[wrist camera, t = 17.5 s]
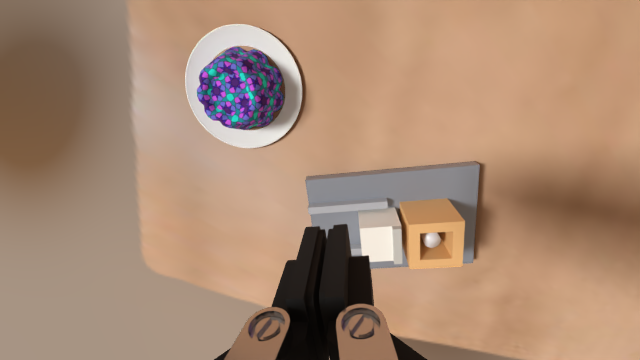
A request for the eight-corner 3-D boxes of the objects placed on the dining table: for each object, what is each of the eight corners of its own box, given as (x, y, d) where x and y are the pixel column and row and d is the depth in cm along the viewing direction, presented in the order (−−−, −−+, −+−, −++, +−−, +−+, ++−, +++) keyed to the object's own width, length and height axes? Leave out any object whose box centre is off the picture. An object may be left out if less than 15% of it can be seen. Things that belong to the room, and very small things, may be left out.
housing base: (474, 161, 31) (498, 178, 27) (468, 256, 36) (488, 287, 31) (306, 176, 33) (300, 195, 29) (319, 265, 38) (316, 295, 33)
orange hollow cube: (447, 198, 32) (465, 221, 27) (445, 238, 34) (462, 266, 29) (399, 201, 32) (408, 224, 28) (400, 241, 34) (409, 269, 30)
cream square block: (394, 207, 33) (402, 228, 28) (395, 238, 34) (403, 263, 30) (357, 210, 33) (360, 231, 29) (360, 241, 34) (363, 266, 30)
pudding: (321, 122, 32) (317, 133, 27) (223, 161, 34) (203, 177, 29) (272, 2, 28) (258, -11, 23) (166, 55, 30) (132, 53, 25)
